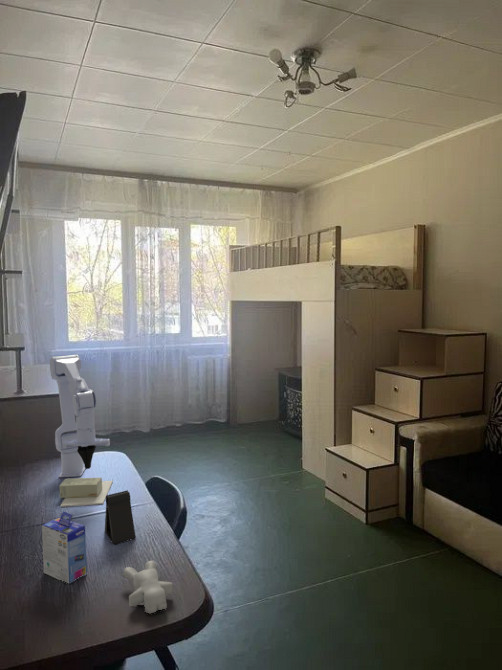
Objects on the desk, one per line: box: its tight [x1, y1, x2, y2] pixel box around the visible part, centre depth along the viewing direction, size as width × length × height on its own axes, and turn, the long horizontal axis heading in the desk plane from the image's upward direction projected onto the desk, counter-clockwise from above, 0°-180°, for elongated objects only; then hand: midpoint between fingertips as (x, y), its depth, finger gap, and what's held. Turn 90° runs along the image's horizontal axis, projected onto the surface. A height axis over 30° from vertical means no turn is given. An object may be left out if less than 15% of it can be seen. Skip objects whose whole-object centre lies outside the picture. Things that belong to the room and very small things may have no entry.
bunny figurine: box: [121, 560, 174, 613], centre depth 108 cm, size 10×5×15 cm
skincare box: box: [58, 477, 103, 499], centre depth 162 cm, size 6×4×12 cm
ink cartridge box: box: [41, 511, 88, 584], centre depth 117 cm, size 10×6×14 cm, turn 58°
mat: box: [60, 480, 114, 508], centre depth 163 cm, size 18×13×1 cm
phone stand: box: [104, 489, 137, 546], centre depth 135 cm, size 9×6×12 cm, turn 31°
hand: (88, 467), depth 163 cm, fingers closed
